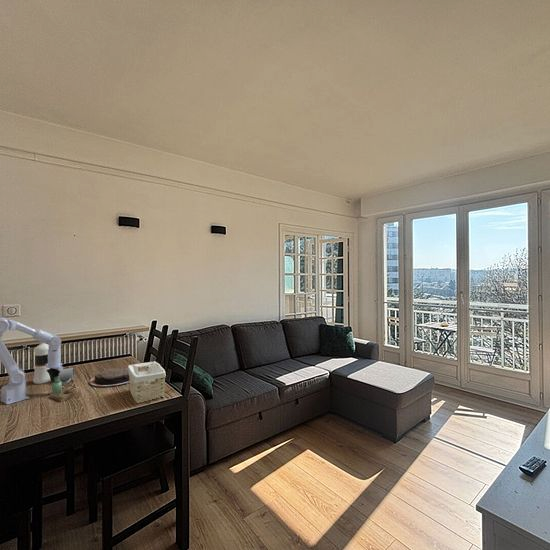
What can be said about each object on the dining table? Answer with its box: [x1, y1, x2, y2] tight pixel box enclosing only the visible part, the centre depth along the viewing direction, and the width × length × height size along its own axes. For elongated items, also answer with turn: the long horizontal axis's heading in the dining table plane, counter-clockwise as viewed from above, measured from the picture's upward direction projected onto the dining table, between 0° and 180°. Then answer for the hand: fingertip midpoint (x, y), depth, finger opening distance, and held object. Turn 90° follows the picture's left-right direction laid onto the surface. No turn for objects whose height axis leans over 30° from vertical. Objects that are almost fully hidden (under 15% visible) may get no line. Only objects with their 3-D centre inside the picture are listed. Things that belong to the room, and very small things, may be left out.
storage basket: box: [127, 361, 167, 404], centre depth 169 cm, size 24×16×15 cm
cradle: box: [49, 388, 82, 403], centre depth 165 cm, size 10×12×2 cm
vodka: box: [32, 342, 51, 385], centre depth 187 cm, size 9×9×30 cm
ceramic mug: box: [58, 367, 75, 385], centre depth 188 cm, size 11×8×8 cm
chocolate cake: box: [89, 367, 129, 388], centre depth 192 cm, size 28×28×7 cm
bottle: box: [51, 376, 63, 395], centre depth 170 cm, size 4×4×9 cm
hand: (54, 381), depth 171 cm, fingers closed
